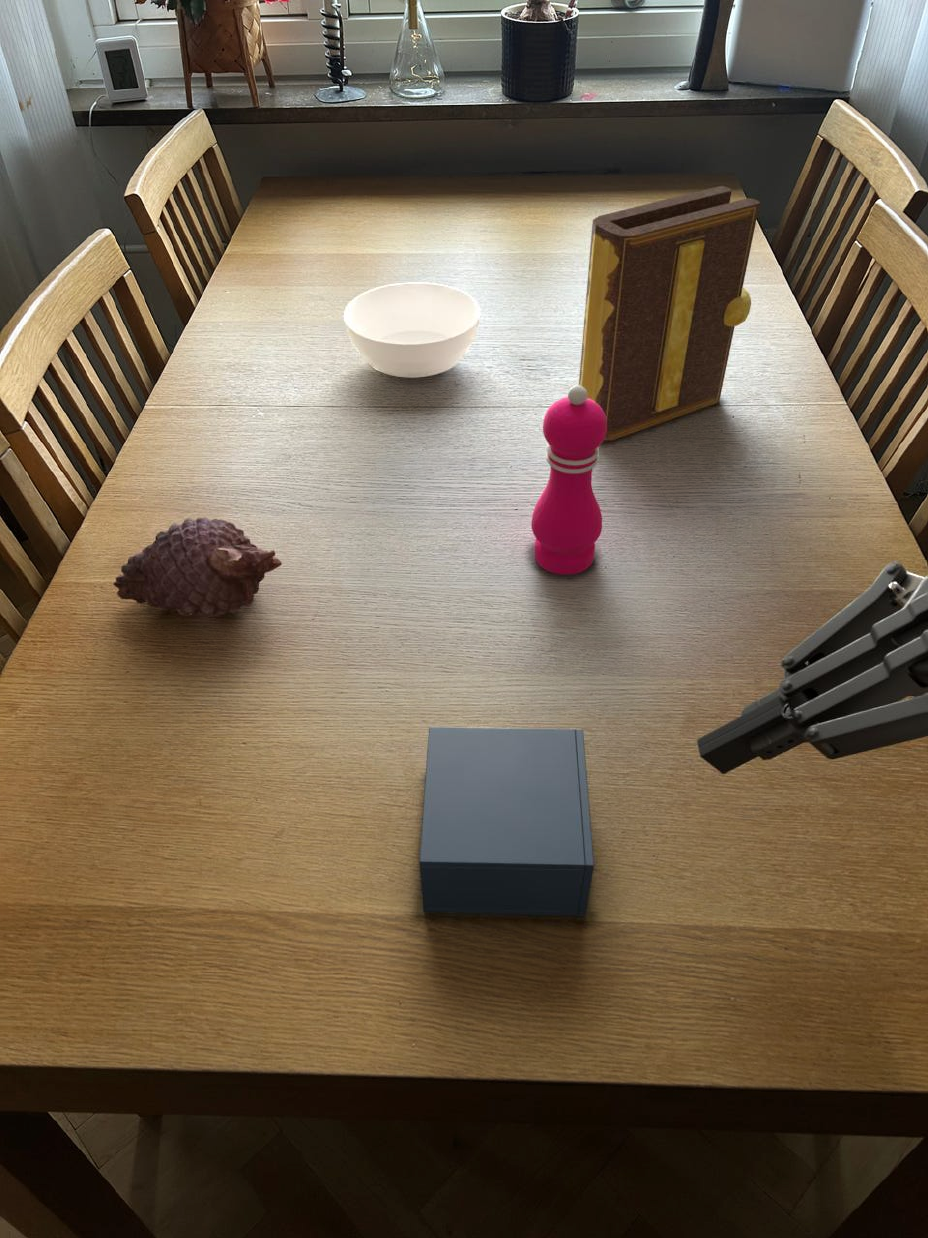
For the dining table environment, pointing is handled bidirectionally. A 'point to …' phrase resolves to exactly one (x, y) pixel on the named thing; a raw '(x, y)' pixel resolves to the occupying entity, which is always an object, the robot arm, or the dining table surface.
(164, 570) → the pine cone
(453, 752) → the gray box
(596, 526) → the pepper mill
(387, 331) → the bowl
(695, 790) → the dining table surface
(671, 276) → the book
